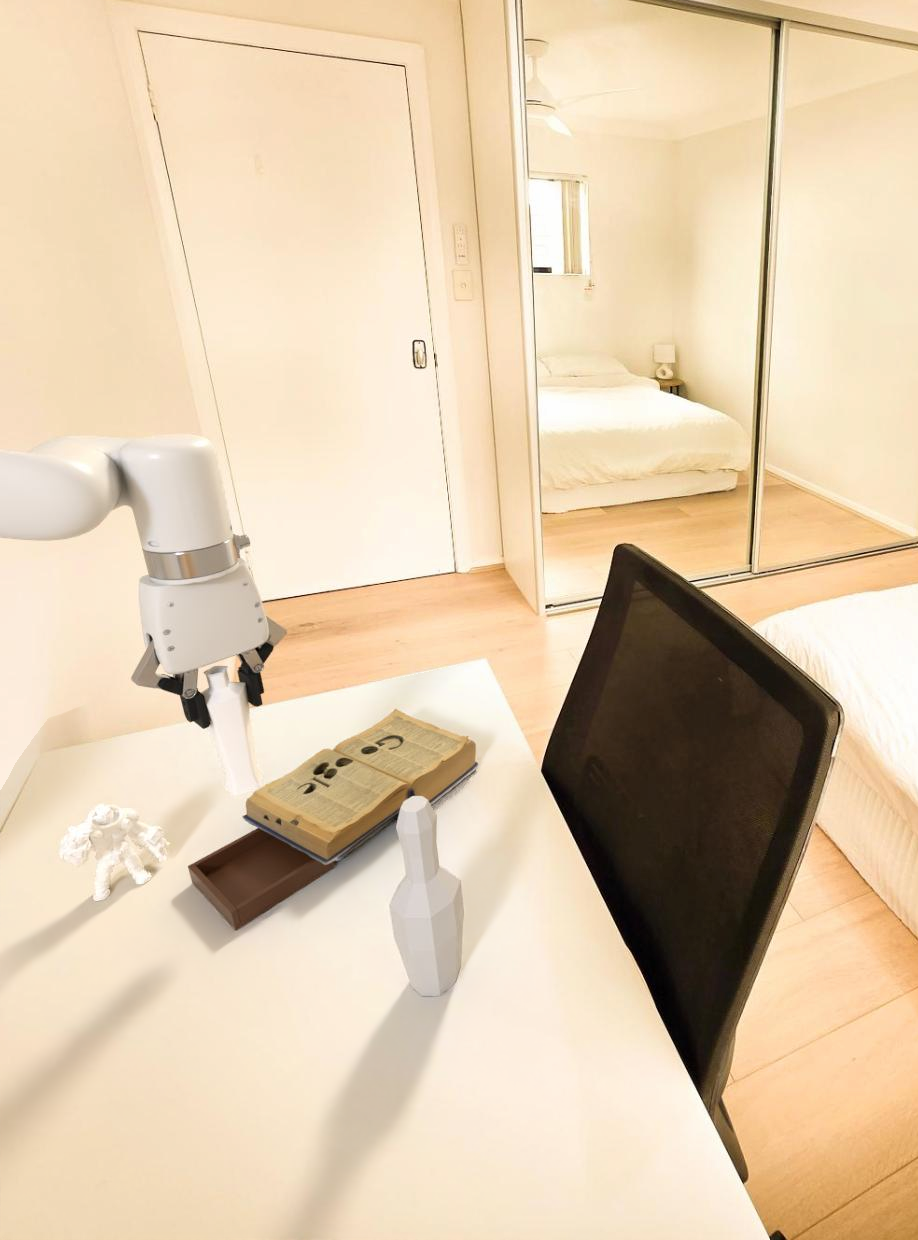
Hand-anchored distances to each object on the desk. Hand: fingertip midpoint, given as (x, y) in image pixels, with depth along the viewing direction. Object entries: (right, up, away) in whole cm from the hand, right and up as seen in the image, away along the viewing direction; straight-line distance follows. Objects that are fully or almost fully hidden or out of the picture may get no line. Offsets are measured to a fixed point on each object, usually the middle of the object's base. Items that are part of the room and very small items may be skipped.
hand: (227, 711), depth 76 cm
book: (+6, -18, +20) cm, 28 cm away
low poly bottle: (+25, -27, -4) cm, 37 cm away
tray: (-1, -22, +8) cm, 23 cm away
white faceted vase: (0, -9, +3) cm, 10 cm away
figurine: (-16, -22, +6) cm, 28 cm away
